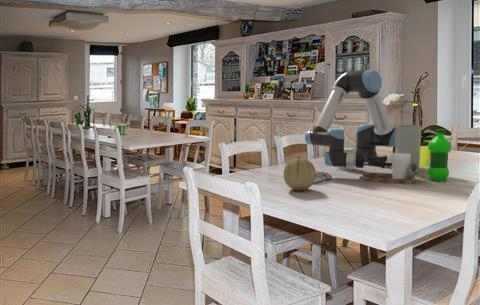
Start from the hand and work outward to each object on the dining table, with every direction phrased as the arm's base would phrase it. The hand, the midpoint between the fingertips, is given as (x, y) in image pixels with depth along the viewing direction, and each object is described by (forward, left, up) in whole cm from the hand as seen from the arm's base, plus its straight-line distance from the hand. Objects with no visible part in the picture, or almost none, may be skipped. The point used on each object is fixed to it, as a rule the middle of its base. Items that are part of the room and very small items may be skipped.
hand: (400, 162), depth 221 cm
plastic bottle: (+15, +13, -9) cm, 22 cm away
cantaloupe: (-30, -46, -9) cm, 56 cm away
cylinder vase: (-4, +26, -9) cm, 28 cm away
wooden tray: (-5, -1, -9) cm, 11 cm away
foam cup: (0, 0, -9) cm, 9 cm away
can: (-35, +16, -9) cm, 40 cm away
